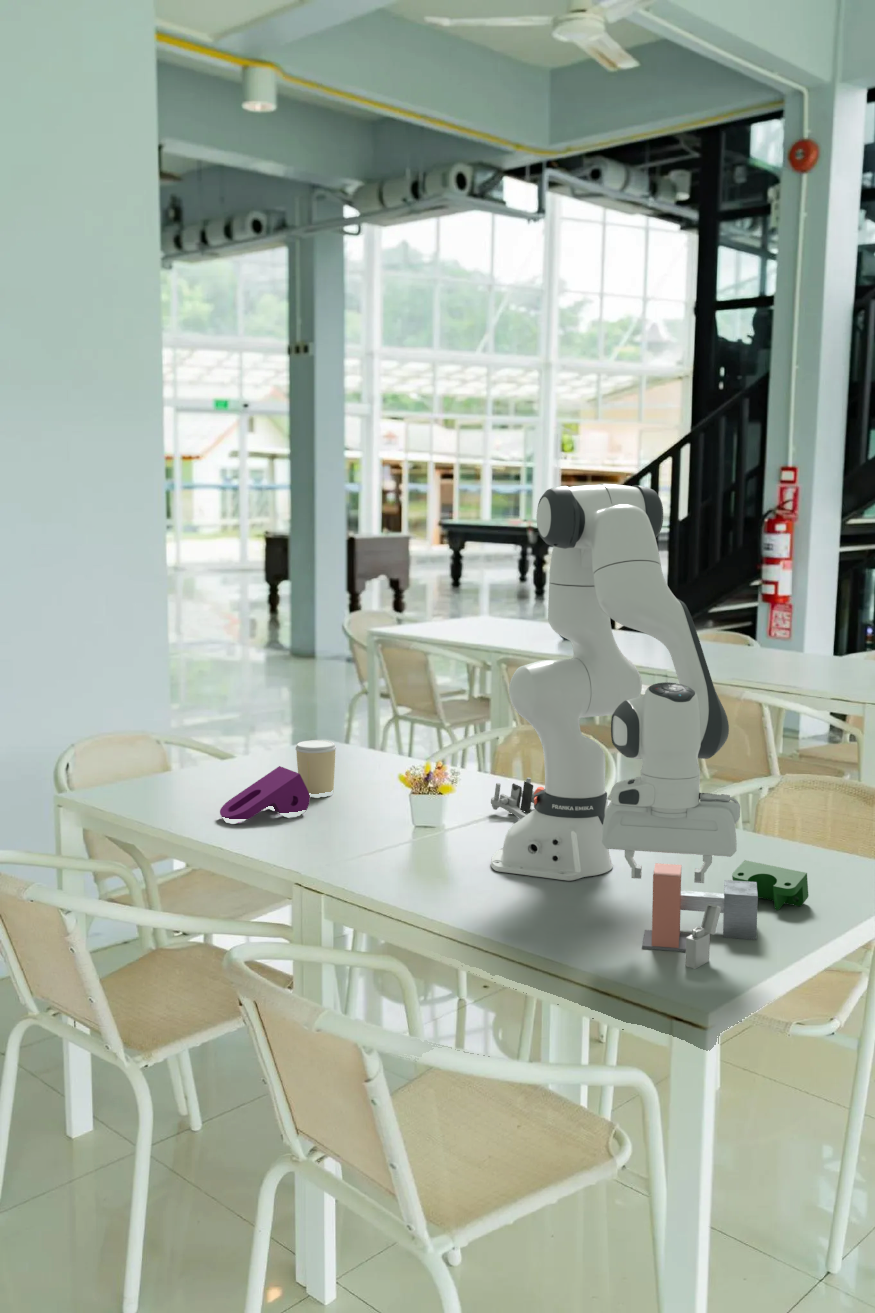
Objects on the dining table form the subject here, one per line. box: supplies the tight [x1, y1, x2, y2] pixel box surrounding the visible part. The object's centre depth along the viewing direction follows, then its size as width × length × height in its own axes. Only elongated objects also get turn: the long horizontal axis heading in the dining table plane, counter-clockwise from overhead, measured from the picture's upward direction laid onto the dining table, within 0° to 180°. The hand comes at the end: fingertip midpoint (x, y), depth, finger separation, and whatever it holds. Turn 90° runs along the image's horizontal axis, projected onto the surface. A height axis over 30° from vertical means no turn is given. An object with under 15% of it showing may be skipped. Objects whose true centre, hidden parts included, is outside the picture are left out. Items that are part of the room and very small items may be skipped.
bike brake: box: [490, 777, 535, 820], centre depth 255 cm, size 14×7×20 cm
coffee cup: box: [295, 739, 337, 794], centre depth 276 cm, size 9×9×12 cm
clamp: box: [731, 859, 809, 911], centre depth 200 cm, size 12×6×9 cm, turn 44°
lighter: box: [684, 904, 721, 969], centre depth 175 cm, size 7×2×8 cm, turn 137°
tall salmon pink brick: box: [651, 862, 683, 948], centre depth 182 cm, size 4×6×11 cm, turn 167°
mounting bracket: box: [219, 765, 311, 820], centre depth 257 cm, size 10×8×18 cm
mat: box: [641, 929, 691, 953], centre depth 183 cm, size 7×7×1 cm
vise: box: [680, 879, 759, 941], centre depth 189 cm, size 16×7×7 cm, turn 77°
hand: (667, 879), depth 182 cm, fingers open, 8 cm apart
